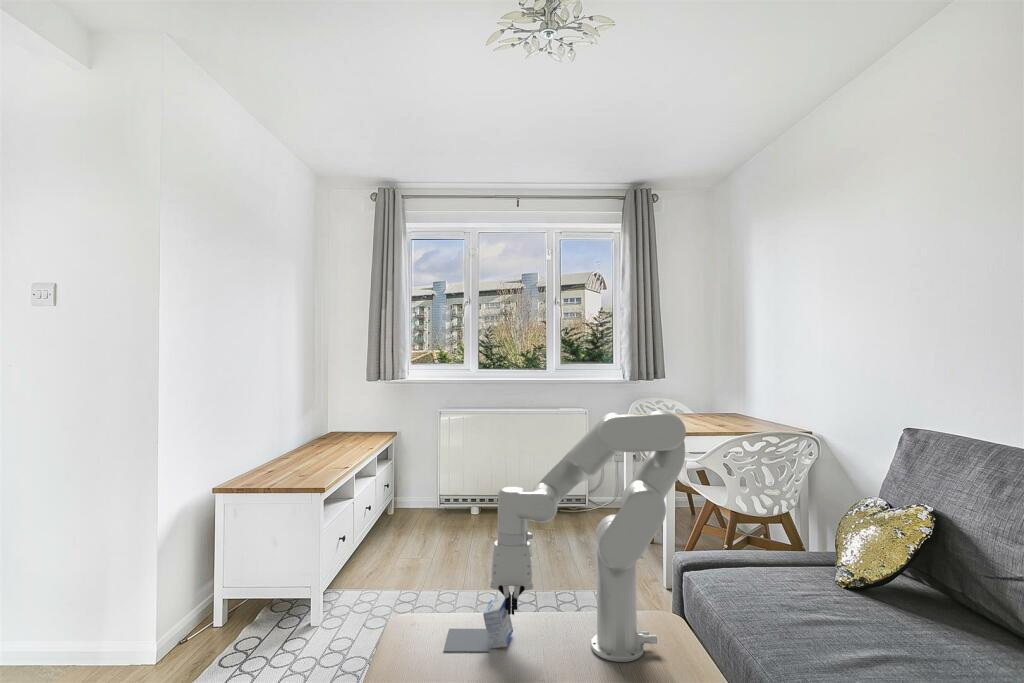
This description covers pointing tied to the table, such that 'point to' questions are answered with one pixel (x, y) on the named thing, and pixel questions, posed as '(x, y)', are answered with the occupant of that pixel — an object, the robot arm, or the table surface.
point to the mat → (467, 640)
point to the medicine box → (498, 623)
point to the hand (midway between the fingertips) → (511, 612)
